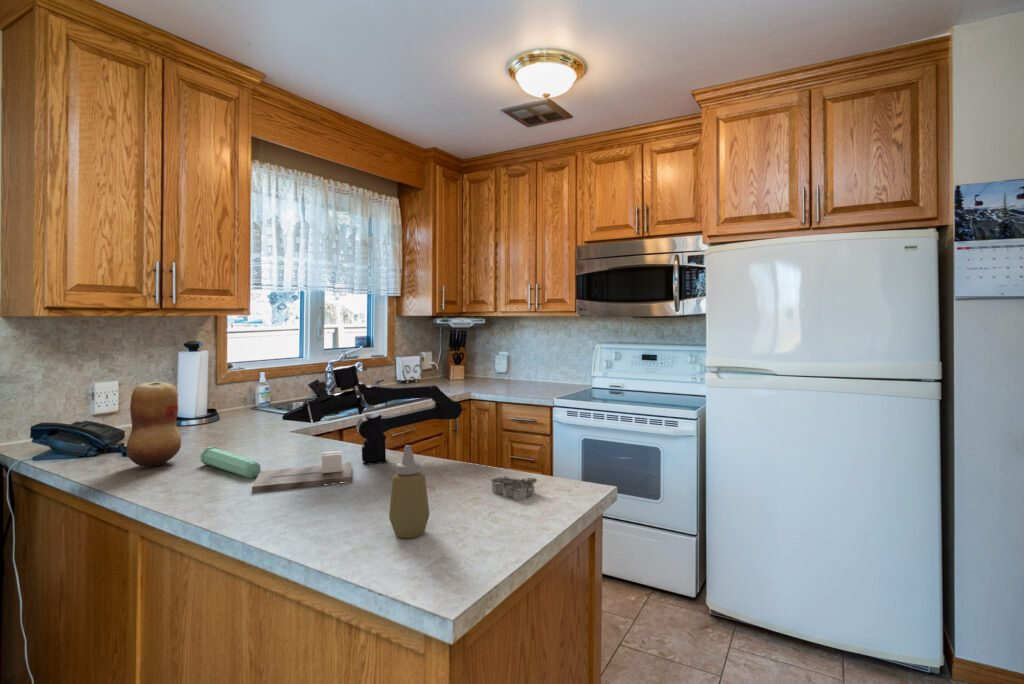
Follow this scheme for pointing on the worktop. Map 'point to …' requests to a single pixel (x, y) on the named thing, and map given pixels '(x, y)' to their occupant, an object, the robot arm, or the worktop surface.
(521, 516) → the worktop surface
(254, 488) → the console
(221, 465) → the container
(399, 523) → the squeeze bottle
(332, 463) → the fader knob
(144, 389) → the butternut squash
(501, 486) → the egg carton
